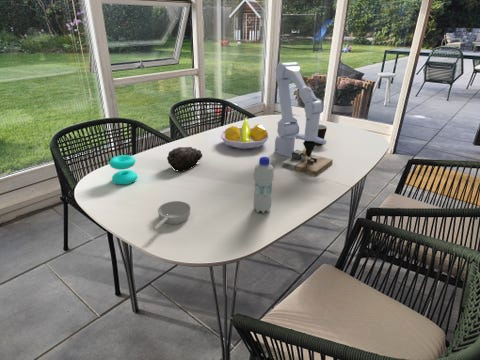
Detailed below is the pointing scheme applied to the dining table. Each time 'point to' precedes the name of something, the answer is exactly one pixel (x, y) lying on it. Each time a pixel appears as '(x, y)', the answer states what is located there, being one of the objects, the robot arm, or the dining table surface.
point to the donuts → (123, 175)
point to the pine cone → (183, 158)
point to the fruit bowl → (245, 136)
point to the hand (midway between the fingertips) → (308, 156)
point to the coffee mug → (321, 133)
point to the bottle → (263, 185)
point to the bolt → (303, 155)
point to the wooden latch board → (308, 165)
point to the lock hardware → (297, 154)
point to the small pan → (173, 213)
